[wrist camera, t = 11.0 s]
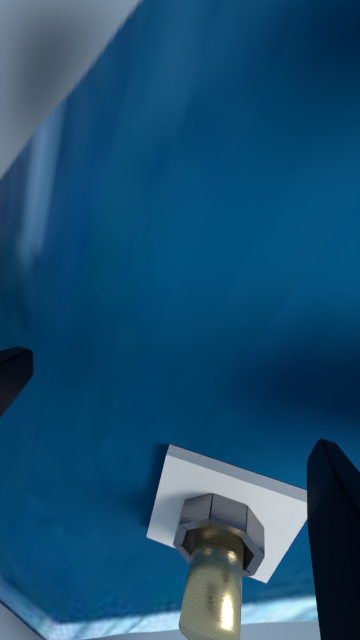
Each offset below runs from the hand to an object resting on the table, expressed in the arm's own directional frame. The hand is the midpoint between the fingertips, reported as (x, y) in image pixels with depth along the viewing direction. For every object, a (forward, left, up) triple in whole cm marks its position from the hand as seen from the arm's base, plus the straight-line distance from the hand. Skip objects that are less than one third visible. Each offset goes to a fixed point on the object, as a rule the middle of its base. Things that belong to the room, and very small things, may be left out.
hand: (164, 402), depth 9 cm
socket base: (-6, +23, -13) cm, 27 cm away
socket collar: (-6, +23, -12) cm, 26 cm away
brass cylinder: (-6, +23, -12) cm, 26 cm away
